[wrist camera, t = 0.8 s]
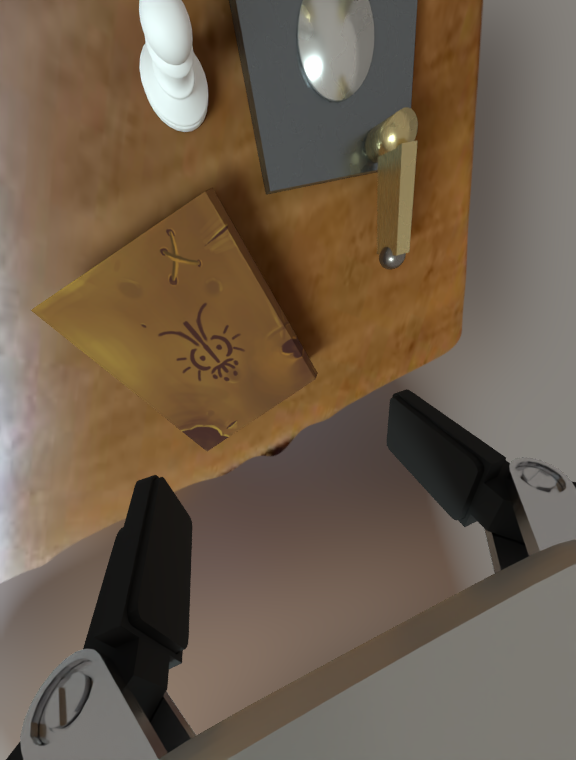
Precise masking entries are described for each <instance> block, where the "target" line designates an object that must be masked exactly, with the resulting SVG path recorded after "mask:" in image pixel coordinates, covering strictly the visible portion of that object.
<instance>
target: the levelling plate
mask: <svg viewBox="0 0 576 760" xmlns="http://www.w3.org/2000/svg"><path fill="white" fill-rule="evenodd" d="M229 3H230V8H231V13H232V19H233V24H234V29H235V34H236V40H237V45H238V50H239V55H240V61H241V66H242V71H243V77H244V82H245V87H246V92H247V98H248V103H249V108H250V113H251V119H252V124H253V129H254V134H255V140H256V145H257V150H258V156H259V161H260V166H261V171H262V177H263V182H264V187H265V192H266V194H271V193H276V192H281V191H286V190H291V189H296V188H301V187H306V186H311V185H316V184H321V183H326V182H331V181H336V180H340V179H345V178H350V177H355V176H360V175H365V174H370V173H375V172H378V162H377V163H374V162H372V161H370V160H369V159H368V157H367V155H366V151H365V142H366V138H367V135H368V133H369V132H370V130H371V129H372V128H373V127H375V126H376V125H378V124H379V123H381V122H383V121H384V120H386V119H387V118H389V117H390V116H392V115H393V114H395V113H396V112H398V111H399V110H401V109H402V108H405V107H408V108H411V98H412V81H413V65H414V48H415V32H416V15H417V0H229Z"/></svg>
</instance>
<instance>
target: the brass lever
mask: <svg viewBox="0 0 576 760" xmlns="http://www.w3.org/2000/svg"><path fill="white" fill-rule="evenodd" d="M417 129H418V121H417V117H416V114H415V112H414V111H413V110H412V109H411V108H408V107H405V108H402V109H401V110H399V111H398V112H396V113H395V114H393V115H392V116H390V117H389V118H387V119H386V120H384V121H383V122H381V123H379V124H378V125H376V126H375V127H373V128H372V129H371V130H370V132H369V133H368V135H367V138H366V142H365V151H366V155H367V157H368V159H369V160H370V161H372V162H374V163H377V162H378V192H377V254H380V255H379V261H380V264H381V265H382V267H384V268H385V269H395V268H397V267H399V266H400V265H401V264H402V263H403V261H404V259H405V255H406V253H408V252H409V248H410V234H411V221H412V207H413V194H414V180H415V167H416V153H417V141H414V140H415V137H416V134H417Z"/></svg>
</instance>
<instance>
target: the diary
mask: <svg viewBox="0 0 576 760" xmlns="http://www.w3.org/2000/svg"><path fill="white" fill-rule="evenodd" d="M31 311H32V312H34V313H35V314H36V315H37V316H39V317H40V318H41V319H42V320H44V321H45V322H46V323H47V324H49V325H50V326H51V327H52V328H54V329H55V330H56V331H57V332H59V333H60V334H61V335H62V336H64V337H65V338H66V339H67V340H69V341H70V342H71V343H72V344H74V345H75V346H76V347H77V348H79V349H80V350H81V351H82V352H84V353H85V354H86V355H87V356H89V357H90V358H91V359H92V360H94V361H95V362H96V363H97V364H99V365H100V366H101V367H102V368H104V369H105V370H106V371H107V372H109V373H110V374H111V375H112V376H114V377H115V378H116V379H117V380H118V381H120V382H121V383H122V384H123V385H125V386H126V387H127V388H128V389H130V390H131V391H132V392H133V393H135V394H136V395H137V396H138V397H140V398H141V399H142V400H143V401H145V402H146V403H147V404H148V405H150V406H151V407H152V408H153V409H155V410H156V411H157V412H158V413H160V414H161V415H162V416H163V417H165V418H166V419H167V420H168V421H170V422H171V423H172V424H173V425H175V426H176V427H177V428H178V429H180V430H181V431H182V432H183V433H185V434H186V435H187V436H188V437H190V438H191V439H192V440H193V441H195V442H196V443H197V444H198V445H200V446H201V447H202V448H203V449H205V450H206V451H208V450H210V449H211V448H213V447H214V446H216V445H217V444H219V443H220V442H222V441H223V440H225V439H226V438H228V437H229V436H231V435H232V434H234V433H235V432H237V431H238V430H240V429H241V428H243V427H244V426H246V425H247V424H249V423H250V422H252V421H253V420H255V419H256V418H258V417H259V416H261V415H262V414H264V413H265V412H267V411H268V410H270V409H271V408H273V407H274V406H276V405H277V404H279V403H280V402H282V401H283V400H285V399H286V398H288V397H289V396H291V395H292V394H294V393H295V392H297V391H298V390H300V389H301V388H303V387H304V386H306V385H307V384H309V383H310V382H312V381H314V380H315V379H316V376H317V371H316V369H315V368H314V366H313V364H312V362H311V361H310V359H309V357H308V355H307V354H306V352H305V350H304V348H303V347H302V345H301V343H300V341H299V340H298V338H297V336H296V334H295V332H294V331H293V329H292V327H291V325H290V324H289V322H288V320H287V318H286V317H285V315H284V313H283V311H282V310H281V308H280V306H279V304H278V302H277V301H276V299H275V297H274V295H273V294H272V292H271V290H270V288H269V287H268V285H267V283H266V281H265V280H264V278H263V276H262V274H261V272H260V271H259V269H258V267H257V265H256V264H255V262H254V260H253V258H252V257H251V255H250V253H249V251H248V250H247V248H246V246H245V244H244V242H243V241H242V239H241V237H240V235H239V234H238V232H237V230H236V228H235V227H234V225H233V223H232V221H231V220H230V218H229V216H228V214H227V213H226V211H225V209H224V207H223V205H222V204H221V202H220V200H219V198H218V197H217V195H216V193H215V191H214V190H213V188H211V189H209V190H207V191H205V192H203V193H202V194H200V195H199V196H198V197H196V198H195V199H193V200H192V201H190V202H189V203H187V204H186V205H184V206H183V207H181V208H180V209H178V210H177V211H176V212H174V213H173V214H171V215H170V216H168V217H167V218H165V219H164V220H162V221H161V222H159V223H158V224H156V225H155V226H154V227H152V228H151V229H149V230H148V231H146V232H145V233H143V234H142V235H140V236H139V237H137V238H136V239H134V240H133V241H132V242H130V243H129V244H127V245H126V246H124V247H123V248H121V249H120V250H118V251H117V252H115V253H114V254H112V255H111V256H110V257H108V258H107V259H105V260H104V261H102V262H101V263H99V264H98V265H96V266H95V267H93V268H92V269H90V270H89V271H88V272H86V273H85V274H83V275H82V276H80V277H79V278H77V279H76V280H74V281H73V282H71V283H70V284H68V285H67V286H66V287H64V288H63V289H61V290H60V291H58V292H57V293H55V294H54V295H52V296H51V297H49V298H48V299H46V300H45V301H44V302H42V303H41V304H39V305H38V306H36V307H35V308H33V309H32V310H31Z"/></svg>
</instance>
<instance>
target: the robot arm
mask: <svg viewBox="0 0 576 760" xmlns="http://www.w3.org/2000/svg"><path fill="white" fill-rule="evenodd" d="M387 446H388V448H389V450H390V451H391V452H392V453H393V454H394V455H395V457H396V458H397V459H398V460H399V461H400V462H401V463H402V464H403V465H404V466H405V467H406V468H407V470H408V471H409V472H410V473H411V474H412V475H413V476H414V477H415V478H416V479H417V480H418V482H419V483H420V484H421V485H422V486H423V487H424V488H425V489H426V490H427V491H428V493H430V494H431V496H432V497H433V498H434V499H435V500H436V501H437V502H438V503H439V505H440V506H441V507H442V508H443V509H444V510H445V511H446V512H447V513H448V514H449V515H450V516H451V517H452V518H453V519H454V520H459V522H460V523H462V525H463V526H464V527H466V526H468V525H470V524H472V523H474V522H476V521H478V522H479V523H480V524H481V525H482V526H483V527H484V529H485V534H486V538H487V542H488V547H489V551H490V556H491V560H492V565H493V569H494V573H495V574H493V575H491V576H489V577H487V578H486V579H484V580H482V581H480V582H478V583H476V584H474V585H472V586H471V587H469V588H467V589H465V590H463V591H461V592H459V593H458V594H455V595H454V596H452V597H450V598H448V599H446V600H444V601H442V602H440V603H439V604H436V605H435V606H433V607H431V608H429V609H427V610H425V611H424V612H422V613H420V614H418V615H416V616H414V617H412V618H410V619H408V620H407V621H405V622H403V623H401V624H399V625H397V626H395V627H393V628H392V629H390V630H388V631H386V632H384V633H382V634H380V635H379V636H377V637H375V638H373V639H371V640H369V641H368V642H366V643H364V644H362V645H360V646H358V647H356V648H354V649H353V650H351V651H349V652H347V653H345V654H343V655H341V656H340V657H338V658H336V659H334V660H332V661H330V662H328V663H327V664H325V665H323V666H321V667H319V668H317V669H316V670H314V671H312V672H310V673H308V674H306V675H304V676H303V677H301V678H299V679H297V680H295V681H294V682H292V683H290V684H288V685H286V686H284V687H283V688H281V689H279V690H277V691H275V692H274V693H271V694H270V695H268V696H266V697H264V698H262V699H260V700H258V701H257V702H255V703H253V704H251V705H249V706H248V707H246V708H244V709H242V710H240V711H239V712H237V713H235V714H234V715H232V716H230V717H228V718H227V719H225V720H223V721H221V722H219V723H218V724H216V725H214V726H212V727H211V728H209V729H207V730H205V731H204V732H202V733H200V734H198V735H197V736H196V734H195V733H194V731H193V730H192V728H191V727H190V725H189V724H188V723H187V721H186V720H185V718H184V717H183V715H182V714H181V712H180V711H179V709H178V708H177V706H176V705H175V703H174V702H173V700H172V699H171V698H170V696H169V695H168V693H167V692H166V690H167V684H168V672H169V669H171V668H172V667H175V666H177V665H179V664H181V663H182V651H183V650H184V649H186V647H187V645H188V637H189V607H190V578H191V549H192V521H191V518H190V516H189V515H188V513H187V512H186V510H185V509H184V507H183V506H182V504H181V503H180V501H179V500H178V499H177V497H176V495H175V494H174V492H173V491H172V489H171V488H170V486H169V485H168V483H167V482H166V480H165V479H164V478H163V477H160V478H159V477H158V476H157V475H153V476H150V477H148V478H145V479H142V480H139V481H137V482H136V485H135V488H134V492H133V495H132V499H131V502H130V506H129V510H128V513H127V517H126V521H125V524H124V527H123V528H121V529H120V530H119V532H118V534H117V536H116V539H115V542H114V546H113V549H112V552H111V556H110V559H109V563H108V566H107V569H106V573H105V576H104V580H103V583H102V587H101V590H100V594H99V597H98V600H97V604H96V607H95V610H94V614H93V617H92V621H91V624H90V628H89V631H88V634H87V638H86V641H85V645H84V648H83V650H80V651H77V652H75V653H74V654H72V655H71V656H69V657H68V658H66V659H65V660H64V661H63V662H62V663H61V664H60V665H59V666H58V667H57V668H56V669H55V670H53V672H52V673H51V674H50V675H49V677H48V678H47V679H46V680H45V682H44V683H43V684H42V686H41V687H40V689H39V691H38V692H37V694H36V696H35V697H34V699H33V701H32V703H31V705H30V707H29V710H28V712H27V715H26V717H25V719H24V723H23V727H22V732H21V736H20V739H21V741H20V742H19V744H18V745H17V746H16V748H15V749H14V750H13V751H12V753H11V754H10V755H9V757H8V758H7V759H6V760H576V482H572V481H571V480H570V479H569V478H568V477H567V475H565V474H564V473H563V472H562V471H561V470H559V469H558V468H556V467H554V466H552V465H550V464H548V463H546V462H543V461H541V460H537V459H533V458H524V457H522V458H517V459H514V460H513V461H511V463H509V462H507V461H506V457H504V456H503V455H501V454H500V453H498V452H497V451H496V450H494V449H493V448H491V447H490V446H489V445H487V444H486V443H484V442H483V441H481V440H480V439H479V438H477V437H476V436H474V435H473V434H471V433H470V432H469V431H467V430H466V429H464V428H463V427H461V426H460V425H459V424H457V423H456V422H454V421H453V420H451V419H450V418H448V417H447V416H446V415H444V414H443V413H441V412H440V411H438V410H437V409H436V408H434V407H433V406H431V405H430V404H428V403H427V402H426V401H424V400H423V399H421V398H420V397H418V396H417V395H416V394H414V393H413V392H411V391H409V390H404V391H401V392H398V393H395V394H394V395H393V397H392V398H391V400H390V407H389V420H388V433H387Z"/></svg>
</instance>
